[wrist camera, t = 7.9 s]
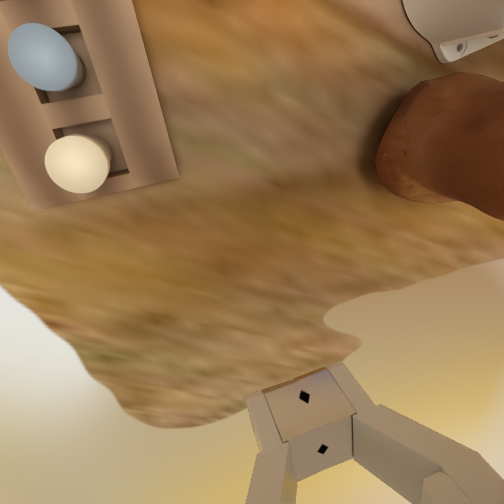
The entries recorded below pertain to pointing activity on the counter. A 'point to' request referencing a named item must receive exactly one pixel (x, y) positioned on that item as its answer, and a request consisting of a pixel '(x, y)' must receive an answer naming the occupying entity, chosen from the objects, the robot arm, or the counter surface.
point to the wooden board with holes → (84, 100)
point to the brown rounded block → (447, 144)
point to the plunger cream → (78, 162)
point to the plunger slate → (45, 58)
